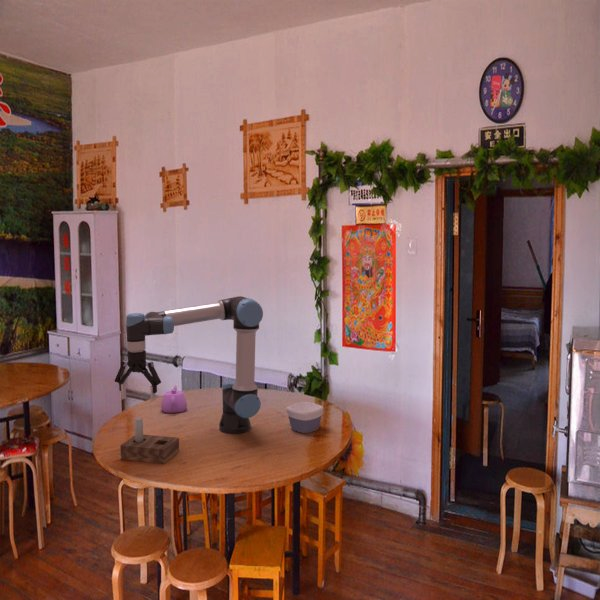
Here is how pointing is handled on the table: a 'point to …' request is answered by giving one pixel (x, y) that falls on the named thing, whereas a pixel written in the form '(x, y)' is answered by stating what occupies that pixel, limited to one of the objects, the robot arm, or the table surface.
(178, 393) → the teapot
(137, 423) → the pin
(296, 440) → the table surface
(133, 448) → the block
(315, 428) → the lidded storage container
